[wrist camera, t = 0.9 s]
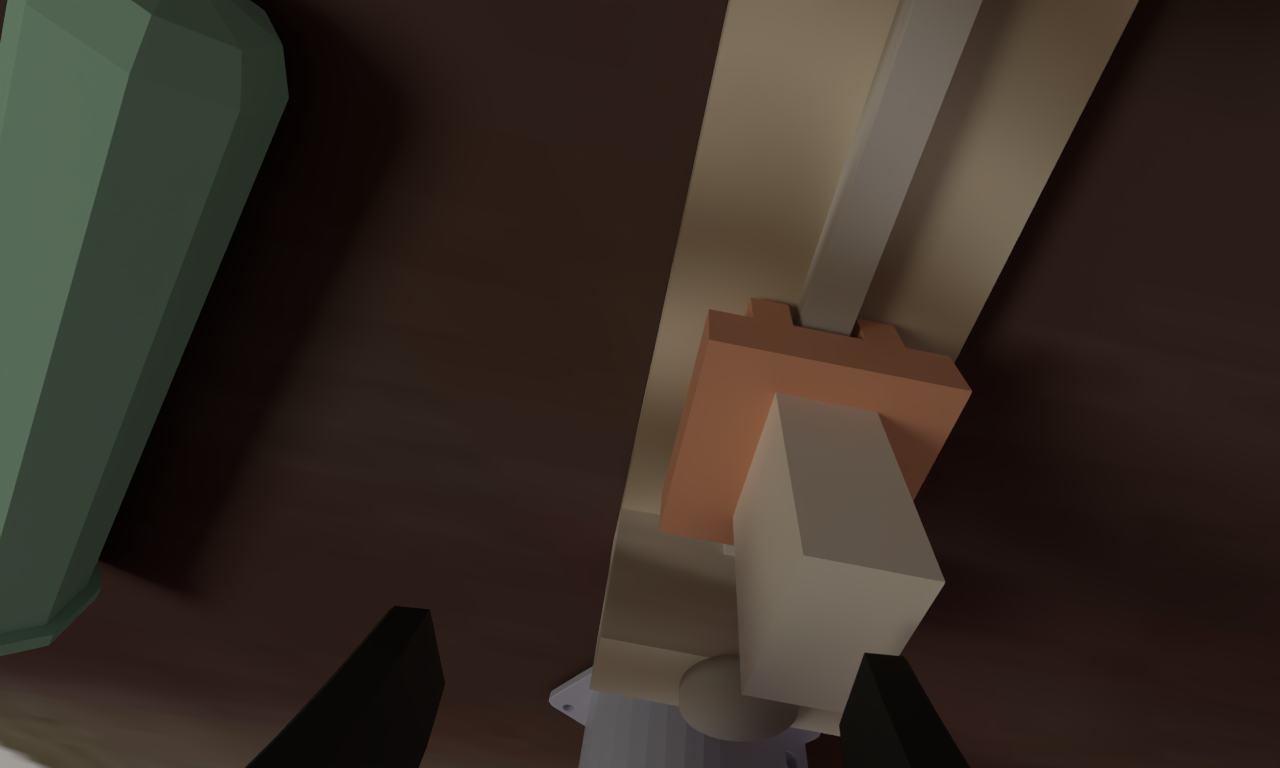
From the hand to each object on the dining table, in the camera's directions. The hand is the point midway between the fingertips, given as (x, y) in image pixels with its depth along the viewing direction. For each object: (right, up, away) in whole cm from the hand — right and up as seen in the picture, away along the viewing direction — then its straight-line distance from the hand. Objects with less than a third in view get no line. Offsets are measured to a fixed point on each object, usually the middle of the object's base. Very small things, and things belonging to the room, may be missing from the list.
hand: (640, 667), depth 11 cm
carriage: (+4, +4, +7) cm, 9 cm away
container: (-17, +7, +10) cm, 21 cm away
